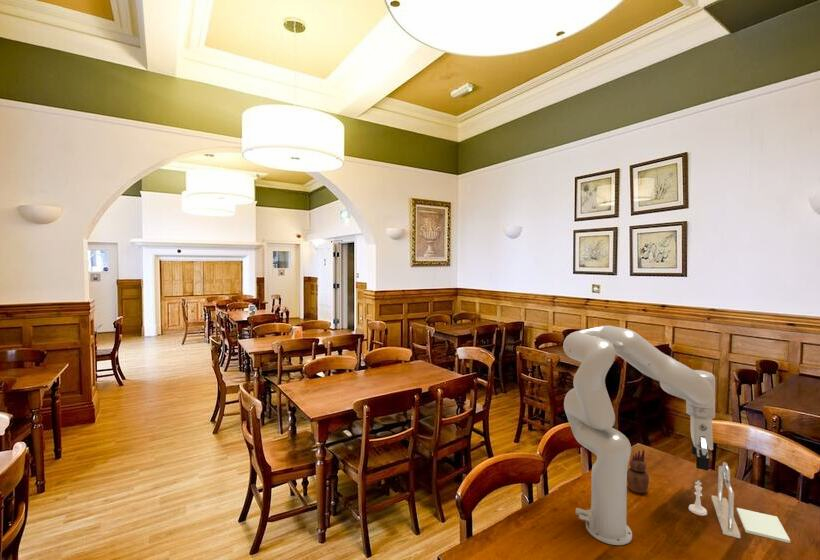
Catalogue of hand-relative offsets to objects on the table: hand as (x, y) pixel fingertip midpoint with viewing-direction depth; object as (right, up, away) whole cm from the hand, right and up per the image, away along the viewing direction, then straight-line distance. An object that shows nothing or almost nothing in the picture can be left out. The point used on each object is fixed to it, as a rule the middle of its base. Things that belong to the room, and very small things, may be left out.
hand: (700, 461), depth 130 cm
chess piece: (0, -16, +1) cm, 16 cm away
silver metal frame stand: (+6, -16, -3) cm, 18 cm away
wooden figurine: (-13, -16, +12) cm, 24 cm away
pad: (+14, -16, -7) cm, 23 cm away
